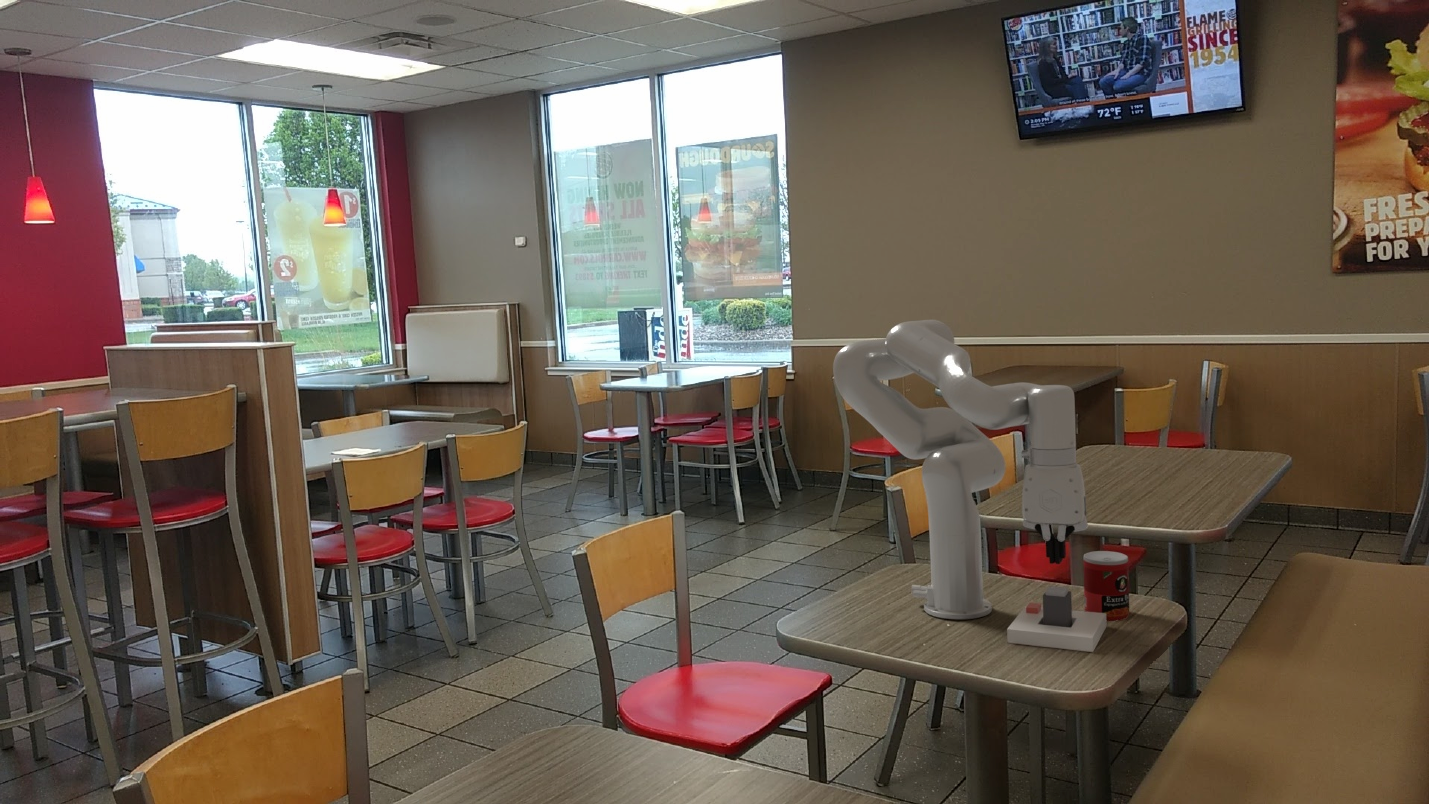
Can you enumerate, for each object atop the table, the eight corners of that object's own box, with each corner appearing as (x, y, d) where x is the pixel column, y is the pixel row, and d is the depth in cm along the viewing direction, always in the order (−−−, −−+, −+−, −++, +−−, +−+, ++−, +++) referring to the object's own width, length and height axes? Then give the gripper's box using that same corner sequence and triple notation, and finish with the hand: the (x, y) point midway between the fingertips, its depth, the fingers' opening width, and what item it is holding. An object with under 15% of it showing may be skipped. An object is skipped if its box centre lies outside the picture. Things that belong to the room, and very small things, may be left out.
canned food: (1107, 624, 185) (1105, 563, 184) (1075, 612, 192) (1073, 554, 191) (1139, 616, 188) (1138, 557, 187) (1106, 605, 195) (1105, 548, 194)
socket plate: (1007, 642, 178) (1006, 623, 178) (1026, 618, 190) (1025, 600, 190) (1092, 652, 171) (1092, 632, 171) (1106, 626, 183) (1106, 607, 183)
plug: (1043, 634, 180) (1042, 591, 179) (1048, 628, 184) (1047, 585, 183) (1067, 637, 178) (1066, 593, 177) (1072, 630, 182) (1071, 587, 181)
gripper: (1003, 459, 178) (1007, 564, 180) (1095, 461, 171) (1097, 570, 173) (1014, 453, 185) (1017, 554, 186) (1102, 454, 177) (1105, 559, 179)
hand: (1056, 561), depth 179 cm, fingers closed
